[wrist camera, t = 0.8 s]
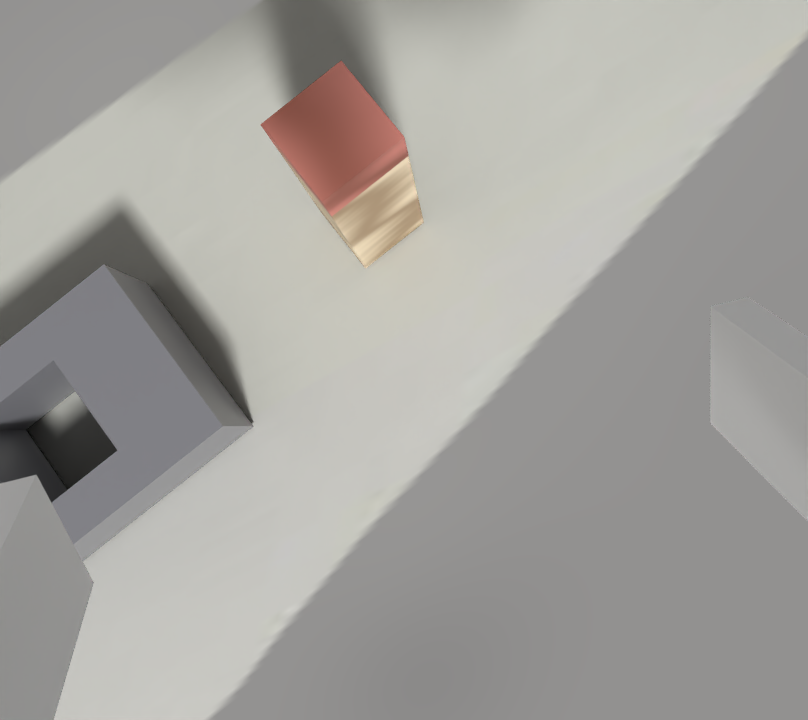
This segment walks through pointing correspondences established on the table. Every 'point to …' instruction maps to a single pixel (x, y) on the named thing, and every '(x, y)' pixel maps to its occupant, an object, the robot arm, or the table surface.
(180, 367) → the socket block
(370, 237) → the plug peg
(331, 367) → the table surface
